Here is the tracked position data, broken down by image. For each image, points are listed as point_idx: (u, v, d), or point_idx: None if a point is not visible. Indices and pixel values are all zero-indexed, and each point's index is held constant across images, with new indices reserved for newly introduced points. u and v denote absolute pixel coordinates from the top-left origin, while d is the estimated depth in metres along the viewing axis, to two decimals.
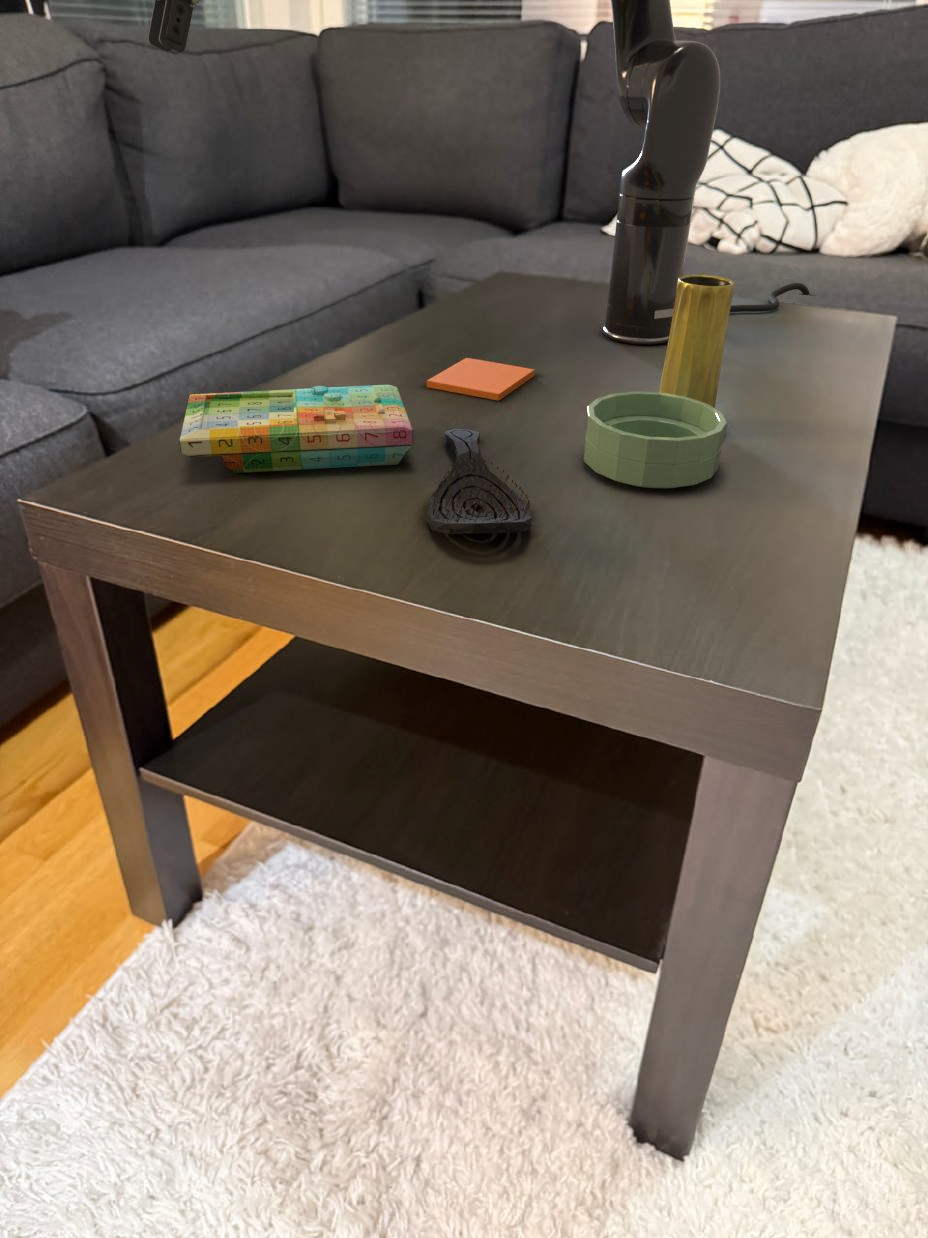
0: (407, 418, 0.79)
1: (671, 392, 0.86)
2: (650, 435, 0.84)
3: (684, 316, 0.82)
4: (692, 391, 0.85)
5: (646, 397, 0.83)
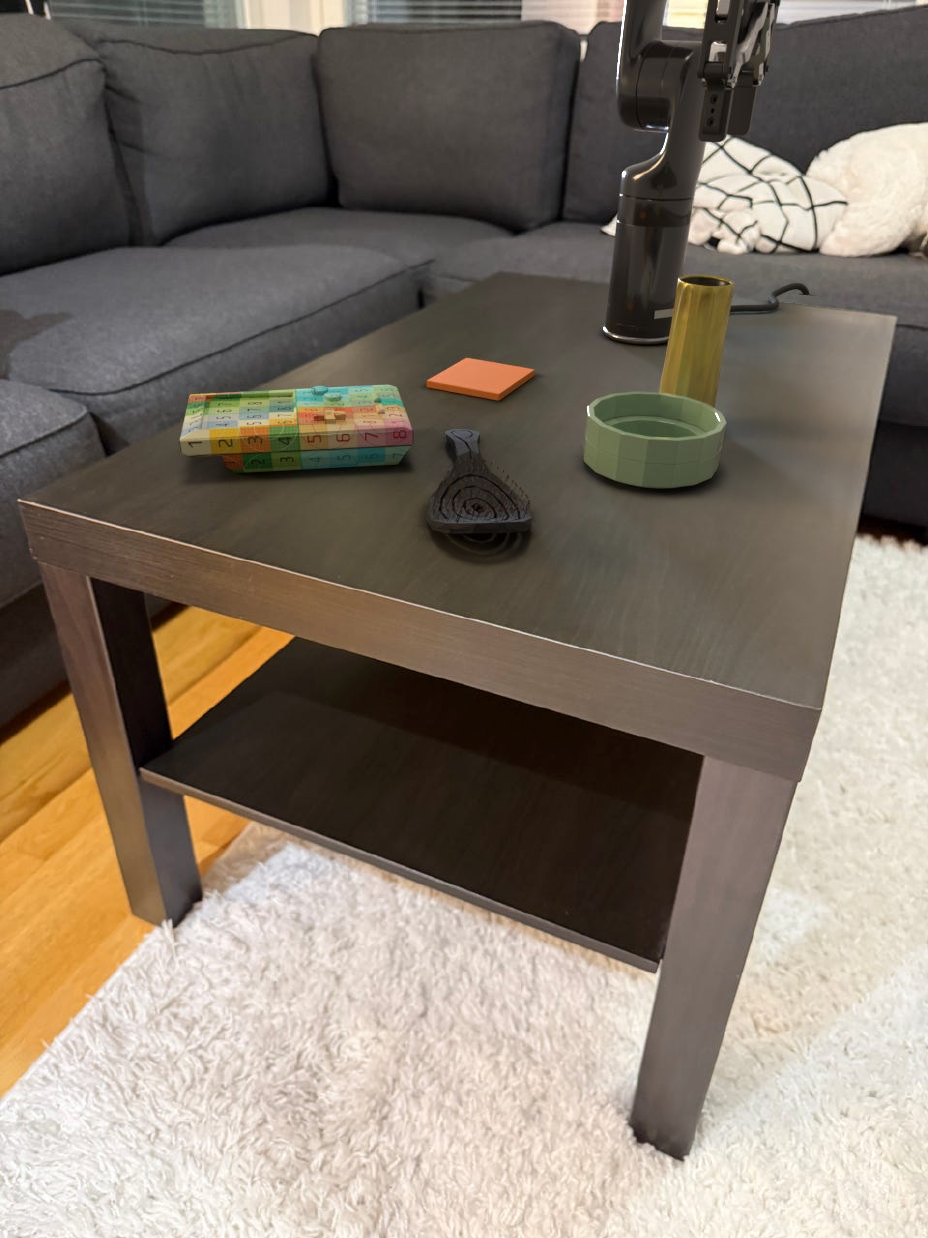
0: (407, 418, 0.79)
1: (671, 392, 0.86)
2: (650, 435, 0.84)
3: (684, 316, 0.82)
4: (692, 391, 0.85)
5: (646, 397, 0.83)
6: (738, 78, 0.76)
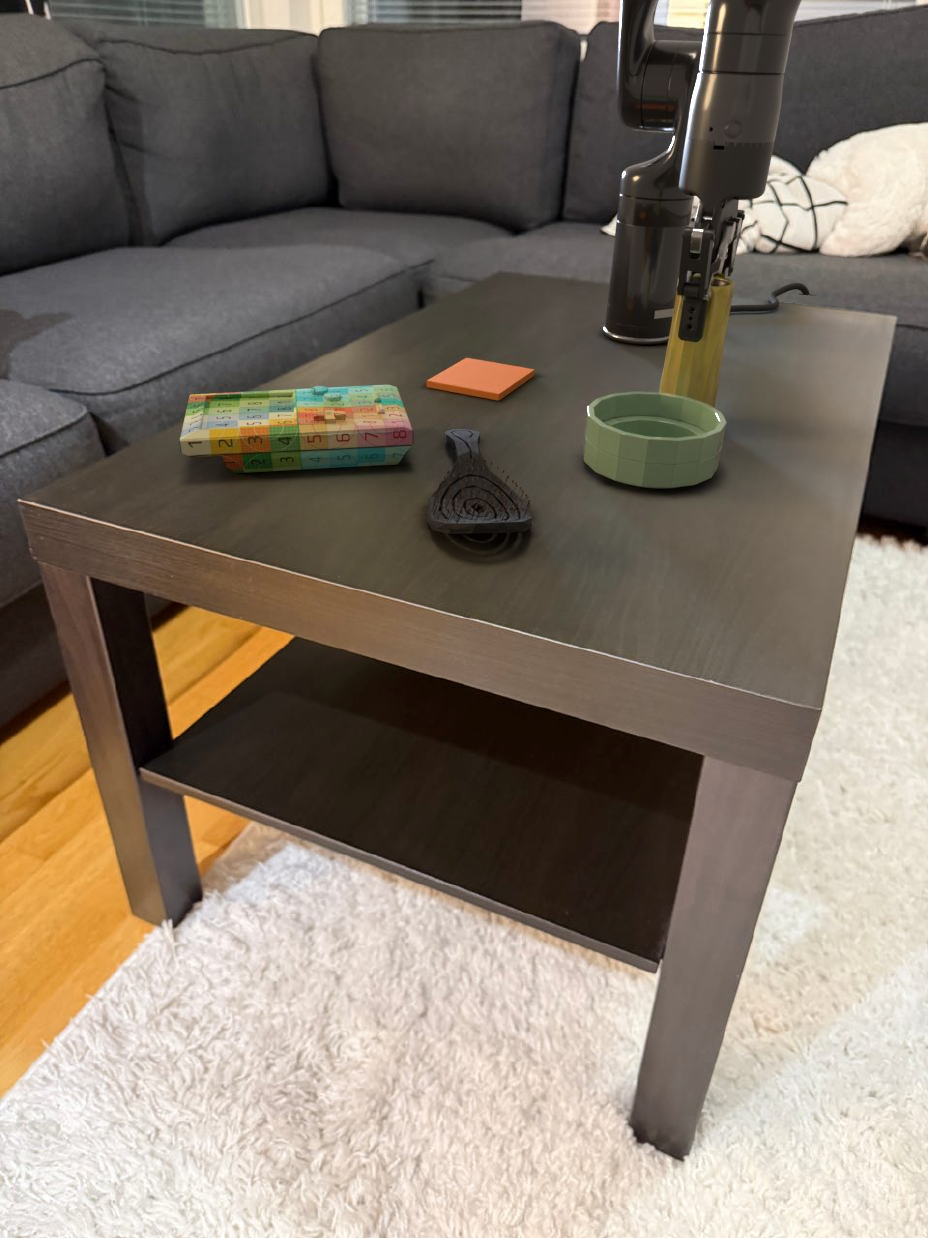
0: (407, 418, 0.79)
1: (671, 392, 0.86)
2: (650, 435, 0.84)
3: None
4: (692, 391, 0.85)
5: (646, 397, 0.83)
6: None
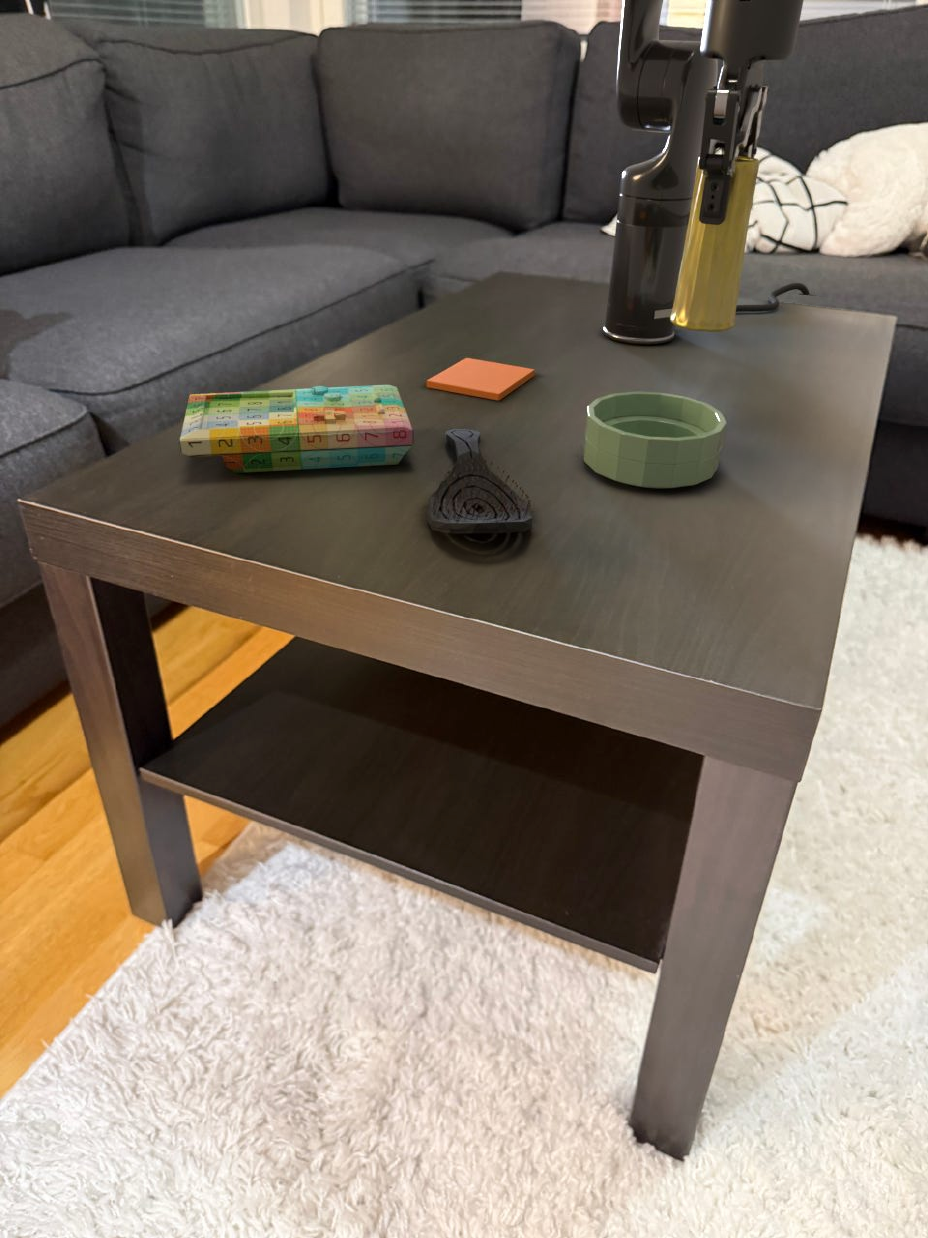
0: (407, 418, 0.79)
1: (690, 284, 0.81)
2: (650, 435, 0.84)
3: None
4: (713, 282, 0.80)
5: (646, 397, 0.83)
6: None
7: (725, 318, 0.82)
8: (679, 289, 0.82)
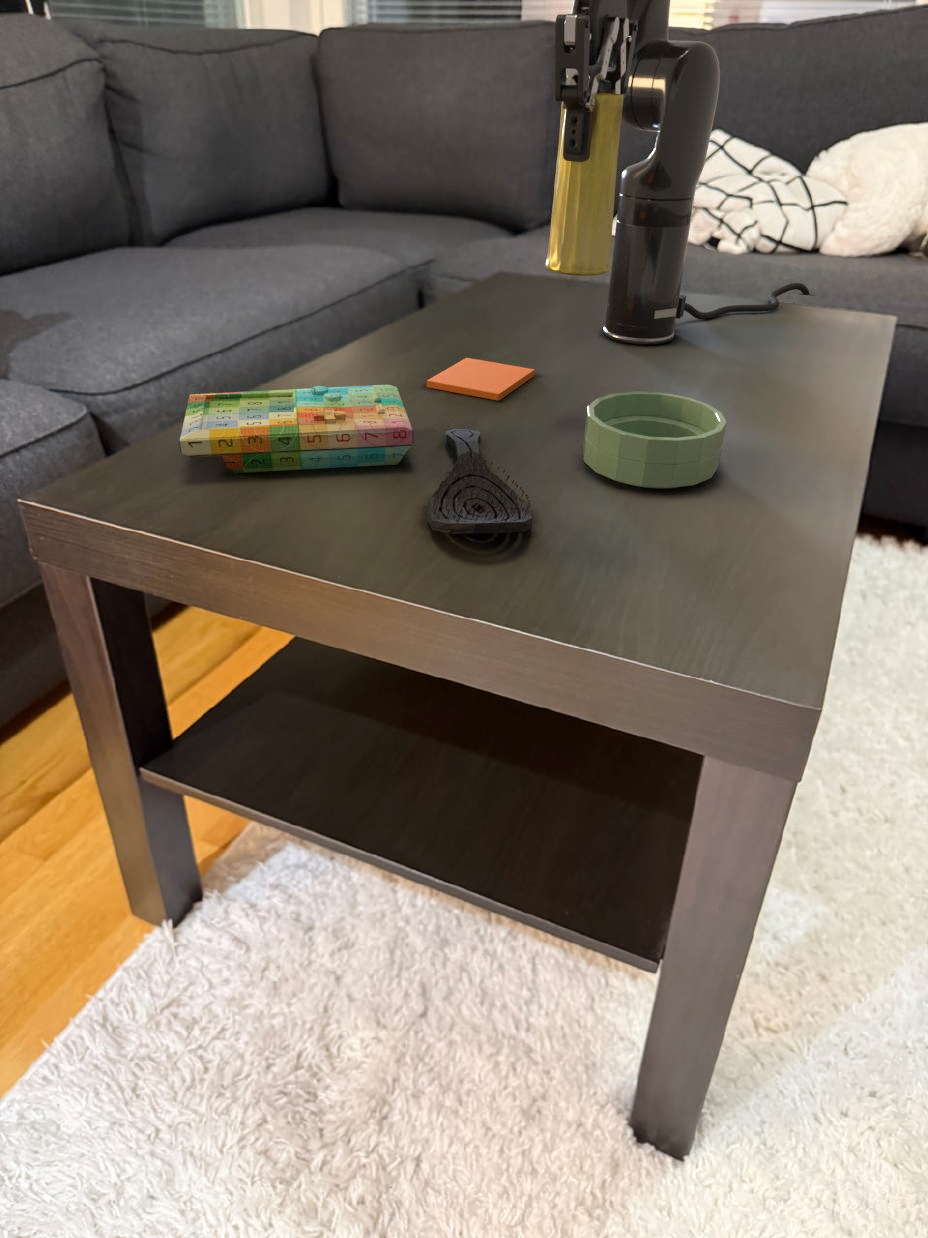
0: (407, 418, 0.79)
1: (561, 226, 0.79)
2: (650, 435, 0.84)
3: None
4: (582, 223, 0.78)
5: (646, 397, 0.83)
6: None
7: (598, 262, 0.80)
8: (551, 232, 0.80)
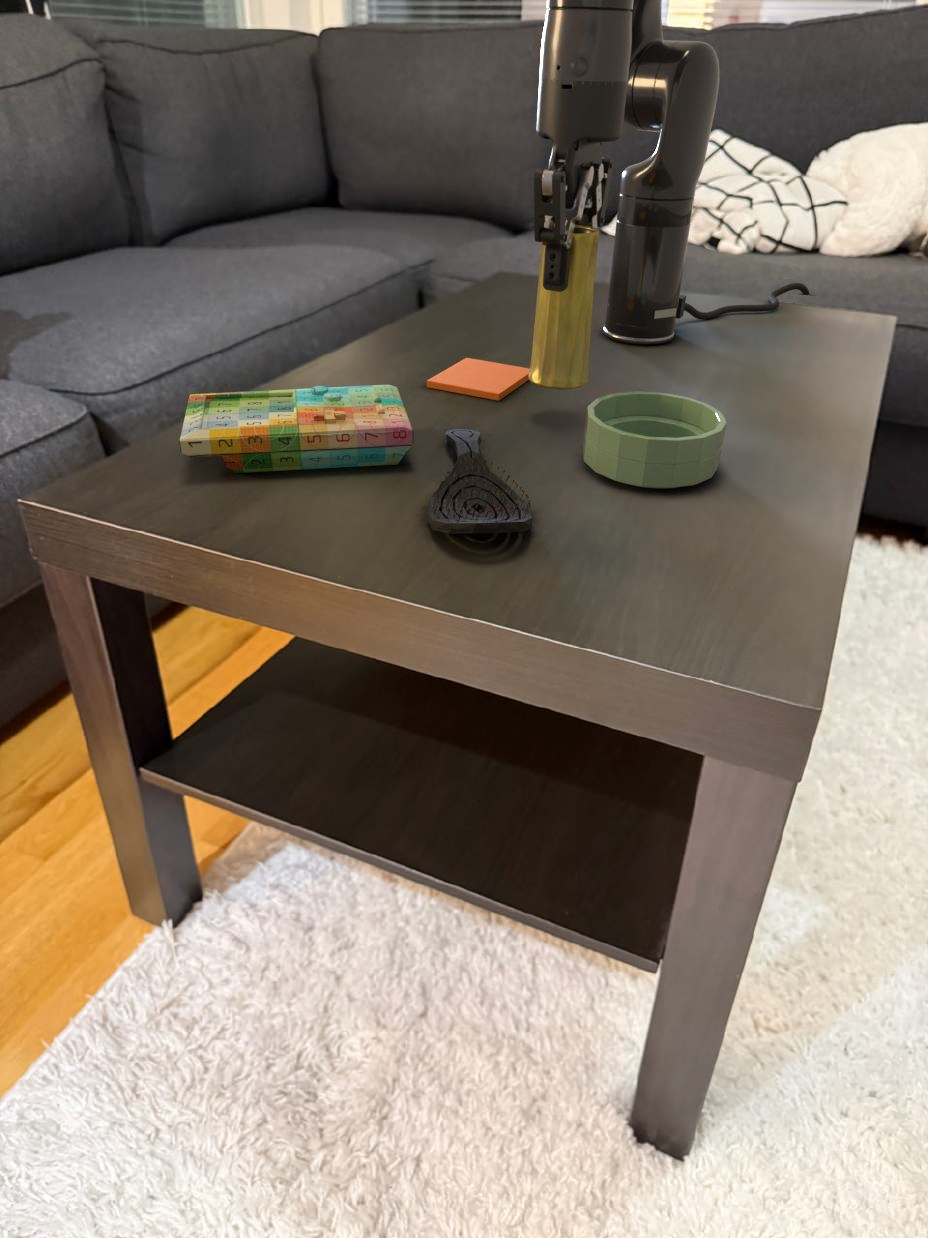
0: (407, 418, 0.79)
1: (542, 345, 0.85)
2: (650, 435, 0.84)
3: None
4: (561, 344, 0.84)
5: (646, 397, 0.83)
6: None
7: (576, 377, 0.86)
8: (533, 348, 0.86)
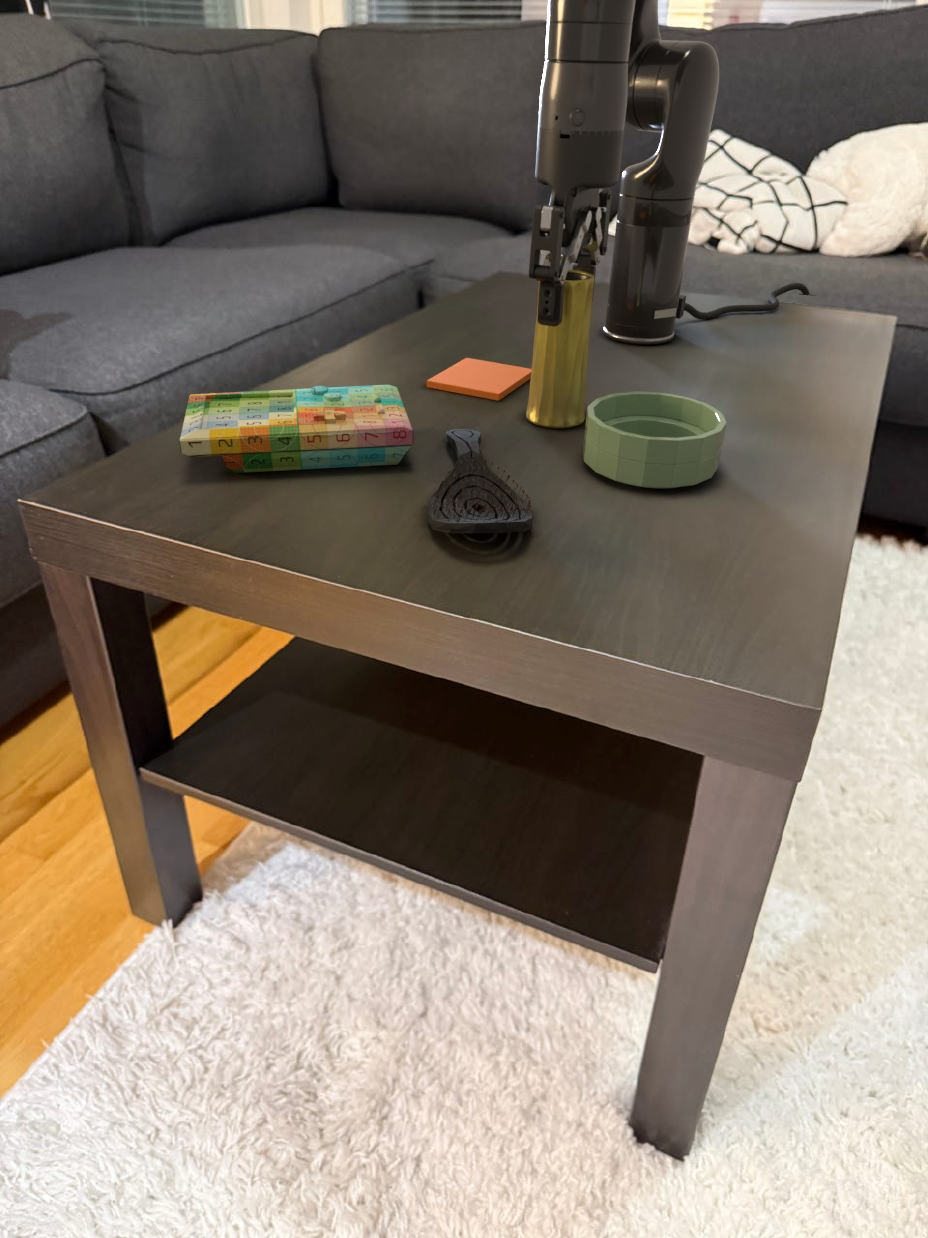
0: (407, 418, 0.79)
1: (539, 386, 0.87)
2: (650, 435, 0.84)
3: None
4: (558, 385, 0.86)
5: (646, 397, 0.83)
6: (578, 259, 0.86)
7: (573, 416, 0.88)
8: (531, 389, 0.88)
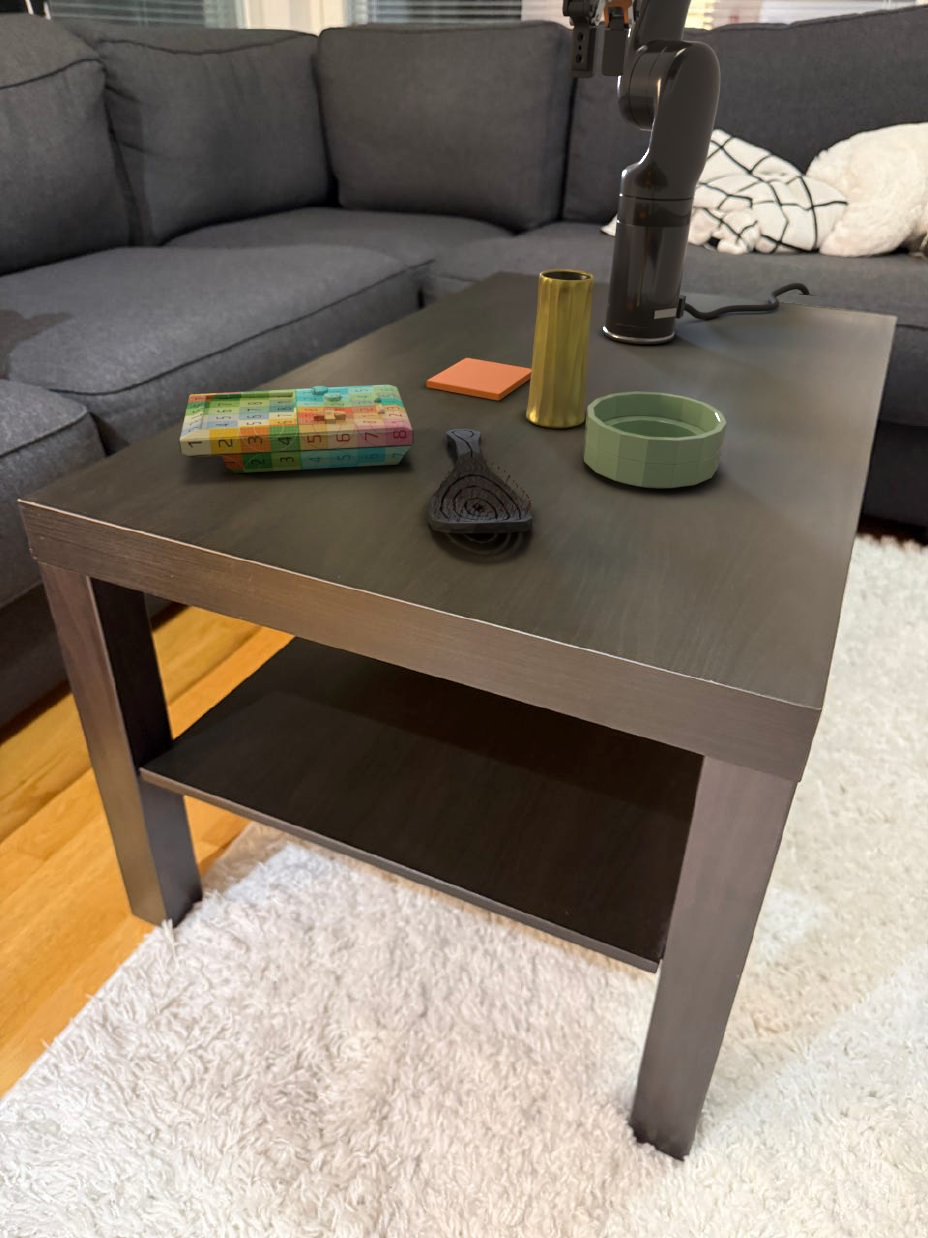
0: (407, 418, 0.79)
1: (539, 386, 0.87)
2: (650, 435, 0.84)
3: (545, 310, 0.83)
4: (558, 385, 0.86)
5: (646, 397, 0.83)
6: (610, 22, 0.82)
7: (573, 416, 0.88)
8: (531, 389, 0.88)
